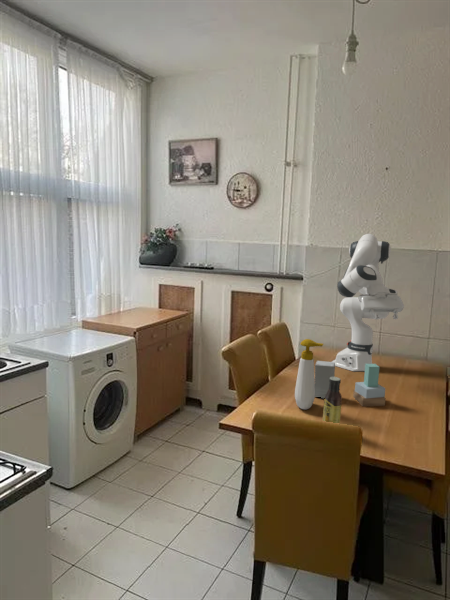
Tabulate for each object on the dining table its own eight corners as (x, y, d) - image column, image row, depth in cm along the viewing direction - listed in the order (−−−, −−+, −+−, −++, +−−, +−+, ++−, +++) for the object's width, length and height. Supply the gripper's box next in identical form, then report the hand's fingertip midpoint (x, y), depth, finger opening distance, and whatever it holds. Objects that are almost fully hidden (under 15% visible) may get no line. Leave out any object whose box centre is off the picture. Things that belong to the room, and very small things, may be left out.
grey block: (354, 390, 194) (355, 382, 194) (372, 389, 197) (373, 381, 196) (366, 398, 186) (366, 389, 185) (384, 397, 188) (385, 388, 187)
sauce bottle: (319, 425, 166) (323, 375, 163) (335, 425, 166) (339, 375, 163) (325, 433, 159) (328, 380, 156) (341, 433, 160) (345, 381, 157)
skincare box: (333, 395, 198) (336, 361, 195) (332, 400, 191) (334, 366, 189) (314, 392, 201) (317, 359, 198) (312, 398, 194) (315, 363, 191)
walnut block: (353, 398, 196) (353, 390, 195) (374, 398, 197) (374, 389, 197) (362, 407, 186) (363, 398, 186) (384, 406, 187) (385, 398, 187)
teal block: (363, 383, 193) (365, 363, 191) (373, 383, 193) (375, 363, 192) (367, 386, 188) (369, 366, 187) (377, 386, 189) (379, 366, 187)
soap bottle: (319, 414, 176) (324, 344, 172) (293, 411, 178) (297, 342, 174) (318, 402, 189) (323, 336, 184) (294, 400, 191) (298, 335, 186)
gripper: (359, 290, 206) (367, 315, 198) (400, 290, 209) (409, 314, 201) (355, 298, 211) (362, 322, 203) (394, 298, 214) (403, 322, 206)
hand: (386, 318), depth 202 cm, fingers open, 8 cm apart
